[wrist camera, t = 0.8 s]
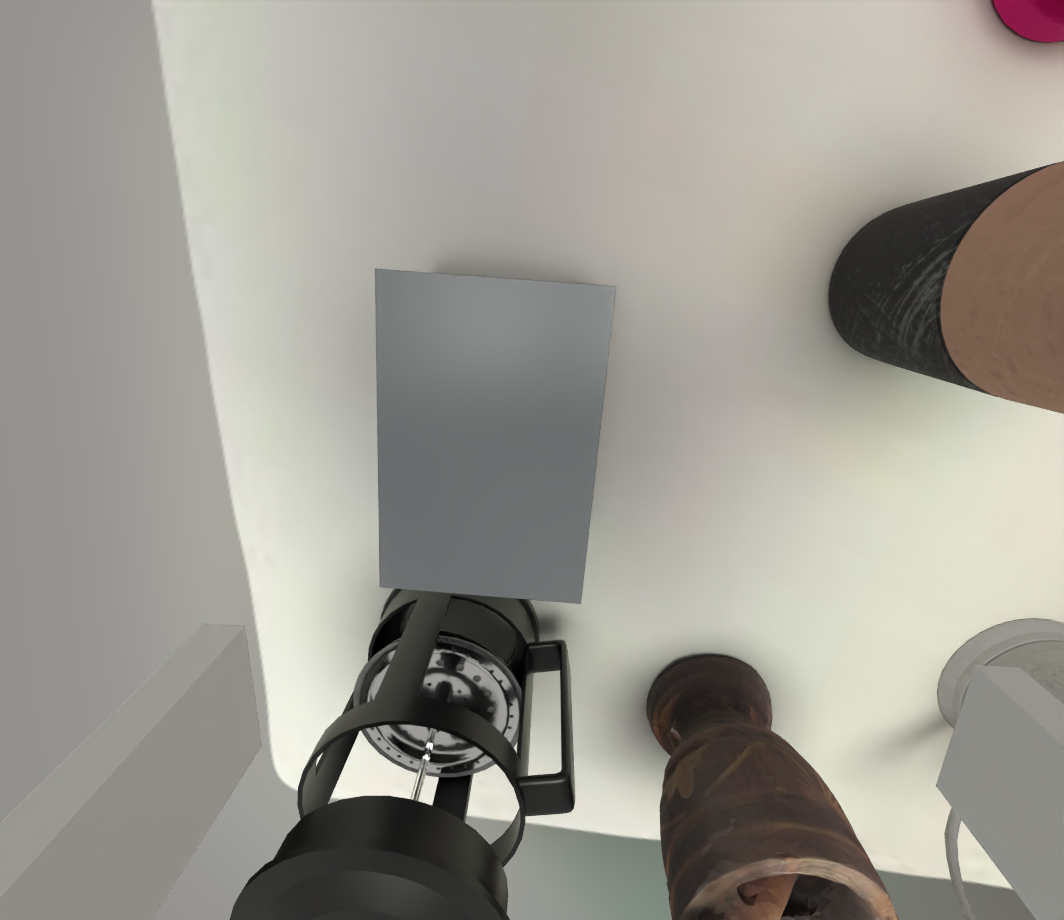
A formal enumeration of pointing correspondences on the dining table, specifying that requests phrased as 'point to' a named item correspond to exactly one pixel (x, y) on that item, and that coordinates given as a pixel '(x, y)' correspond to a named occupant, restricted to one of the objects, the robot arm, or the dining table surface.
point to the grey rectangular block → (488, 431)
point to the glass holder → (1032, 644)
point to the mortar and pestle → (749, 809)
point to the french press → (420, 776)
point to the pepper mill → (1034, 18)
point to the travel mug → (964, 288)
